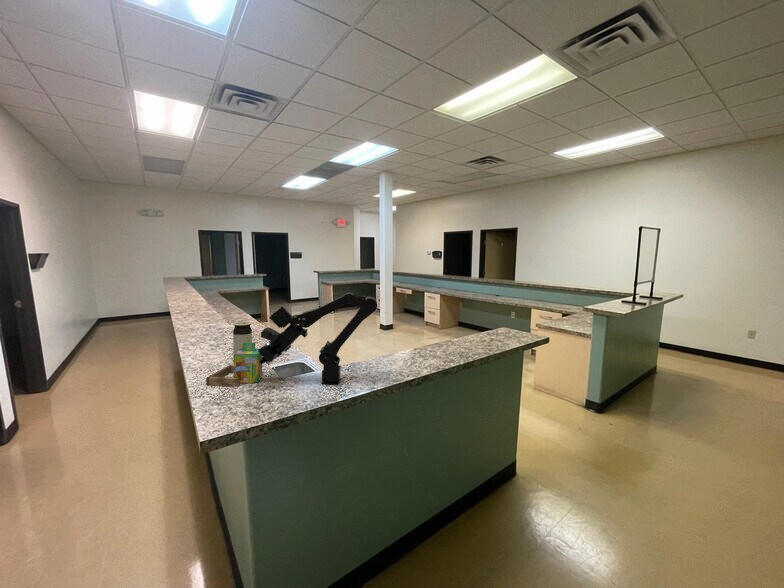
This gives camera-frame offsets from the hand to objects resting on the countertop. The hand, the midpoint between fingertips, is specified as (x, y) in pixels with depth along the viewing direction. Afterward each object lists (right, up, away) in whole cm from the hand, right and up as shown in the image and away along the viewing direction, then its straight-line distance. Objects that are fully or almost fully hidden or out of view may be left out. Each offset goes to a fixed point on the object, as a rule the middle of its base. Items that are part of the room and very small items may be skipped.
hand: (261, 362), depth 124 cm
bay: (-11, -7, +1) cm, 13 cm away
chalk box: (-5, -7, +1) cm, 9 cm away
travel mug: (-19, -5, +26) cm, 32 cm away
